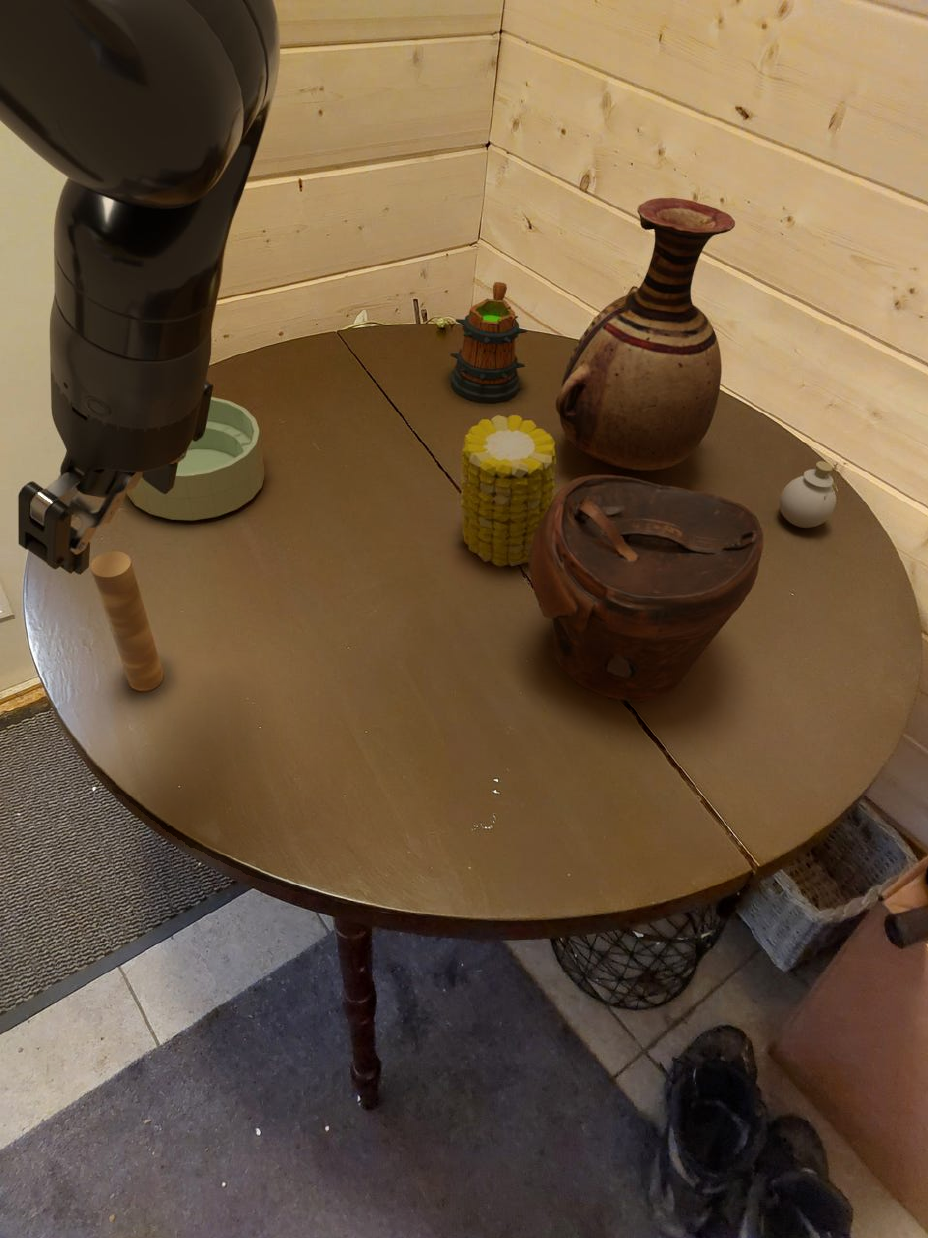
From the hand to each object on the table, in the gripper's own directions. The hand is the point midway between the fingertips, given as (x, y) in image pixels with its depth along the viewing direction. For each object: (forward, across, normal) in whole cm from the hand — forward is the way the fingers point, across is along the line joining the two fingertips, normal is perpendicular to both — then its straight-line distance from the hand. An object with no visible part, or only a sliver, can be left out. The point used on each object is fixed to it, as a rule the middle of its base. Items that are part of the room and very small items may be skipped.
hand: (115, 522), depth 56 cm
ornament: (+7, -55, +52) cm, 76 cm away
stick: (+22, 0, +5) cm, 22 cm away
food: (+17, -33, +24) cm, 45 cm away
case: (+9, -24, +39) cm, 47 cm away
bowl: (+30, -25, -7) cm, 40 cm away
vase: (+17, -56, +32) cm, 66 cm away
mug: (+27, -64, +11) cm, 70 cm away
